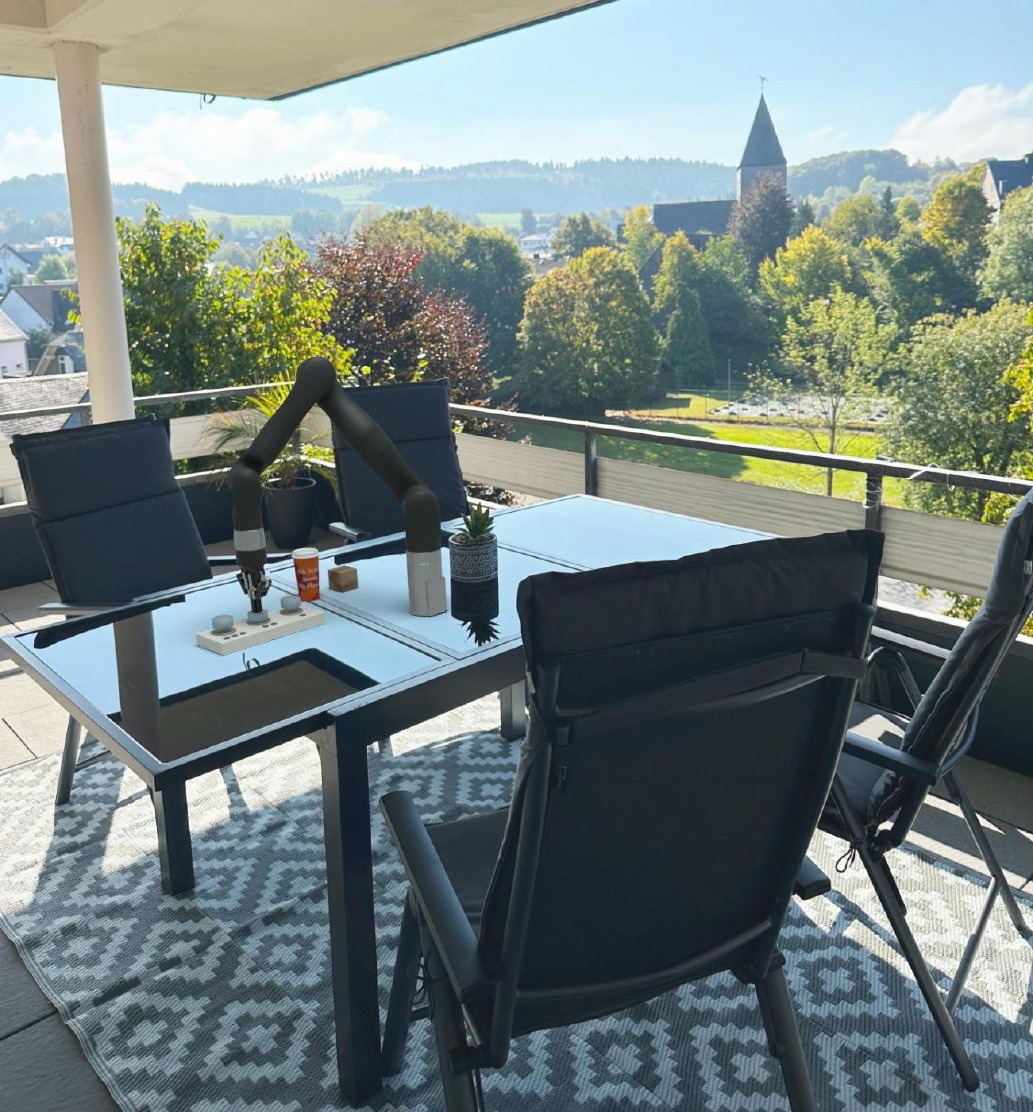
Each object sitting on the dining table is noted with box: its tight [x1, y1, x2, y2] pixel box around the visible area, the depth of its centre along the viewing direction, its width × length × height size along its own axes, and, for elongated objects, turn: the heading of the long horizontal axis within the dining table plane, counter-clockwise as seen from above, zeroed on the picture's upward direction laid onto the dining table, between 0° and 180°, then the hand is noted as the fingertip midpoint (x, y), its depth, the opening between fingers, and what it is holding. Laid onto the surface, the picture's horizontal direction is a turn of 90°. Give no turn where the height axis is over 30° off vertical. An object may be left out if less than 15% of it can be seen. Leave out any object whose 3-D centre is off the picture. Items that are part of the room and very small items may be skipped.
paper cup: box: [291, 547, 321, 602], centre depth 281 cm, size 8×8×14 cm
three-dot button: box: [211, 614, 234, 629], centre depth 246 cm, size 5×5×2 cm
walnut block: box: [327, 565, 359, 594], centre depth 290 cm, size 6×6×6 cm
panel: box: [195, 605, 326, 656], centre depth 253 cm, size 12×30×3 cm, turn 137°
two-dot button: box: [247, 608, 269, 623], centre depth 254 cm, size 5×5×2 cm
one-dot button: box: [279, 595, 302, 609], centre depth 260 cm, size 5×5×2 cm
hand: (257, 612), depth 253 cm, fingers closed
